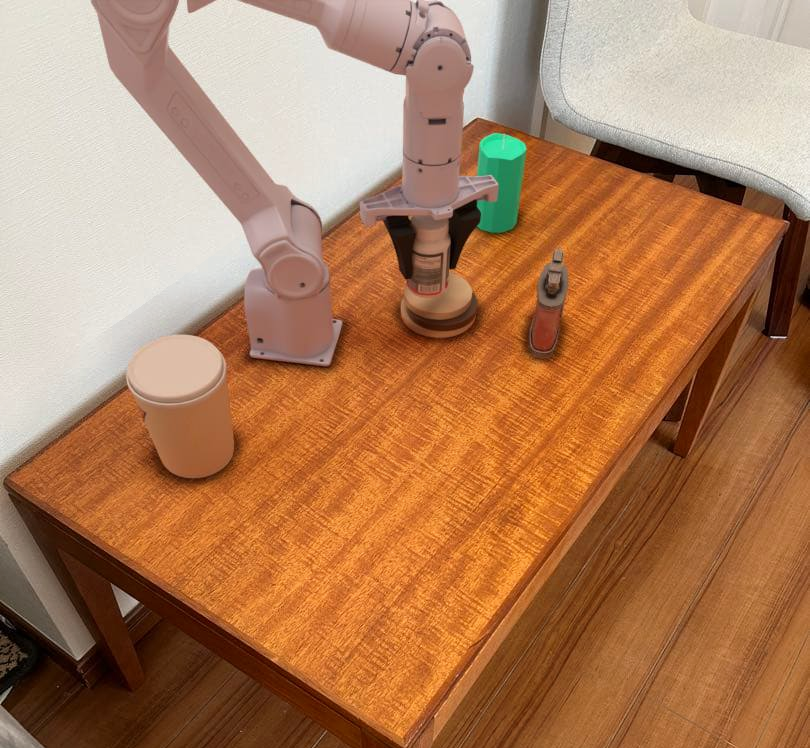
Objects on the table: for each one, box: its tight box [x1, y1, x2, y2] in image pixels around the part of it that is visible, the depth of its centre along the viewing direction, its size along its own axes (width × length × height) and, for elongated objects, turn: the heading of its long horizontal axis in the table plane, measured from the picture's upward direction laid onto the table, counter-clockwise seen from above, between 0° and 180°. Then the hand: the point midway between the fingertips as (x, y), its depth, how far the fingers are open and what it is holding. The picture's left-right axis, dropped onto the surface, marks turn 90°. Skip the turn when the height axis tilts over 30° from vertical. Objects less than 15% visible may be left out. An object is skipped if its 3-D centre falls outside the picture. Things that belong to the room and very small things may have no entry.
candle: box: [476, 132, 527, 234], centre depth 111 cm, size 6×6×12 cm
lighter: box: [528, 248, 570, 359], centre depth 97 cm, size 8×3×10 cm, turn 169°
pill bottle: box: [405, 216, 451, 298], centre depth 92 cm, size 5×5×8 cm
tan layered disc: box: [400, 271, 479, 339], centre depth 102 cm, size 9×9×3 cm
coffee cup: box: [125, 334, 235, 479], centre depth 85 cm, size 9×9×12 cm
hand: (427, 269), depth 94 cm, fingers closed on pill bottle, 5 cm apart
